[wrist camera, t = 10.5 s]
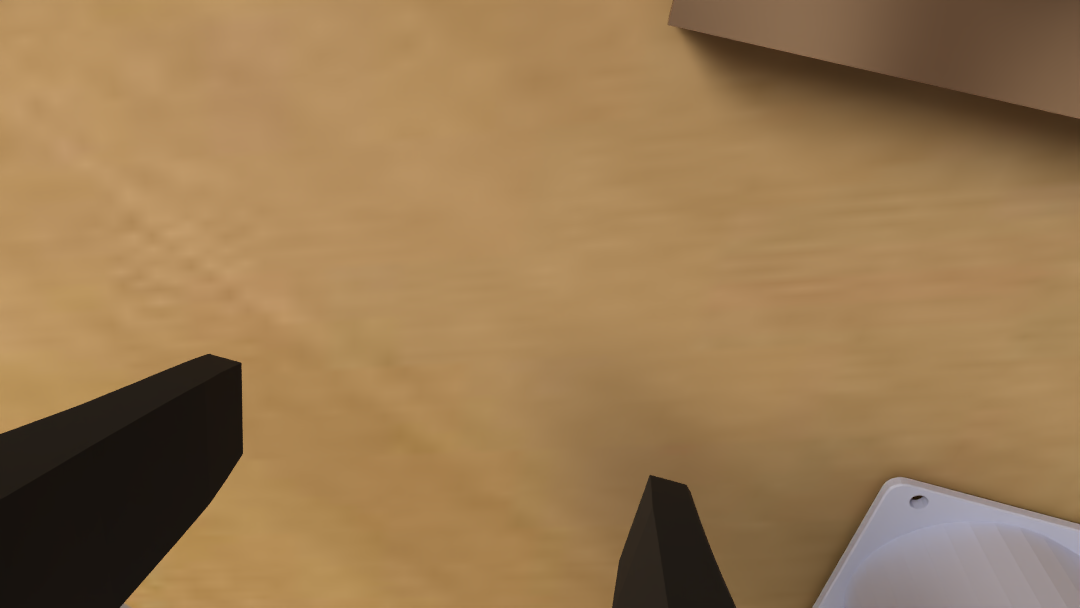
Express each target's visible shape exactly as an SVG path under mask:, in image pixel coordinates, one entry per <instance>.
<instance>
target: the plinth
mask: <svg viewBox="0 0 1080 608" xmlns="http://www.w3.org/2000/svg"><path fill="white" fill-rule="evenodd" d="M668 25H671V26H675V27H679V28H684V29H688V30H692V31H697V32H701V33H706V34H710V35H714V36H719V37H723V38H728V39H732V40H736V41H741V42H745V43H750V44H754V45H758V46H763V47H767V48H771V49H776V50H780V51H785V52H789V53H793V54H798V55H802V56H807V57H811V58H815V59H820V60H824V61H828V62H833V63H837V64H842V65H846V66H850V67H855V68H859V69H864V70H868V71H872V72H877V73H881V74H885V75H890V76H894V77H899V78H903V79H907V80H912V81H916V82H921V83H925V84H929V85H934V86H938V87H942V88H947V89H951V90H956V91H960V92H964V93H969V94H973V95H978V96H982V97H986V98H991V99H995V100H999V101H1004V102H1008V103H1013V104H1017V105H1021V106H1026V107H1030V108H1035V109H1039V110H1043V111H1048V112H1052V113H1057V114H1061V115H1065V116H1070V117H1074V118H1078V119H1080V0H673V3H672V7H671V11H670V15H669V20H668Z"/></svg>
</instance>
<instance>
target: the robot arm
mask: <svg viewBox="0 0 1080 608" xmlns="http://www.w3.org/2000/svg"><path fill="white" fill-rule="evenodd" d="M242 454H243V429H242V370H241V363H240V362H237V361H233V360H229V359H226V358H222V357H218V356H215V355H211V354H207V355H204V356H201V357H198V358H195V359H193V360H190V361H187V362H185V363H182V364H180V365H177V366H175V367H172V368H170V369H167V370H165V371H162V372H160V373H158V374H155V375H153V376H150V377H148V378H145V379H143V380H141V381H138V382H136V383H133V384H131V385H128V386H126V387H123V388H121V389H119V390H116V391H114V392H111V393H109V394H106V395H104V396H101V397H99V398H96V399H94V400H91V401H89V402H86V403H84V404H81V405H79V406H76V407H73V408H71V409H68V410H65V411H63V412H60V413H57V414H54V415H52V416H49V417H46V418H43V419H41V420H38V421H35V422H32V423H30V424H27V425H24V426H22V427H19V428H16V429H13V430H11V431H8V432H5V433H2V434H0V608H120V606H122V604H123V603H124V602H125V601H126V600H127V599H128V598H129V596H130V595H131V594H132V593H133V592H134V591H135V590H136V588H137V587H138V586H139V585H140V584H141V583H142V581H143V580H144V579H145V578H146V577H147V576H148V575H149V573H150V572H151V571H152V570H153V569H154V568H155V567H156V565H157V564H158V563H159V562H160V561H161V560H162V559H163V557H164V556H165V555H166V554H167V553H168V552H169V551H170V549H171V548H172V547H173V546H174V545H175V544H176V543H177V541H178V540H179V539H180V538H181V537H182V536H183V534H184V533H185V532H186V531H187V530H188V529H189V527H190V526H191V525H192V524H193V523H194V522H195V520H196V519H197V518H198V517H199V516H200V515H201V513H202V512H203V511H204V510H205V509H206V507H207V506H208V505H209V504H210V503H211V501H212V500H213V498H214V497H215V495H216V494H217V492H218V491H219V490H220V488H221V487H222V485H223V484H224V482H225V481H226V479H227V478H228V476H229V475H230V473H231V471H232V470H233V468H234V467H235V465H236V464H237V462H238V461H239V459H240V457H241V456H242ZM917 495H921V496H923V497H922V498H920V499H917V500H911V498H912V497H914V496H917ZM612 608H736V606H735V604H734V602H733V599H732V597H731V595H730V593H729V590H728V588H727V586H726V583H725V581H724V579H723V577H722V574H721V572H720V570H719V567H718V565H717V563H716V560H715V558H714V555H713V553H712V550H711V548H710V545H709V543H708V540H707V537H706V535H705V532H704V529H703V527H702V524H701V521H700V518H699V516H698V513H697V510H696V507H695V504H694V501H693V498H692V495H691V492H690V490H689V489H688V487H687V485H685V484H681V483H678V482H674V481H670V480H667V479H663V478H659V477H656V476H652V475H650V476H649V479H648V482H647V485H646V487H645V490H644V493H643V496H642V499H641V501H640V504H639V507H638V510H637V513H636V515H635V518H634V521H633V524H632V527H631V529H630V532H629V535H628V538H627V541H626V543H625V546H624V549H623V552H622V555H621V557H620V560H619V566H618V573H617V579H616V586H615V592H614V599H613V606H612ZM812 608H1080V524H1077V523H1073V522H1070V521H1066V520H1062V519H1058V518H1055V517H1051V516H1047V515H1044V514H1040V513H1036V512H1032V511H1029V510H1025V509H1021V508H1017V507H1014V506H1010V505H1006V504H1002V503H999V502H995V501H991V500H987V499H984V498H980V497H976V496H973V495H969V494H965V493H961V492H958V491H954V490H950V489H946V488H943V487H939V486H935V485H931V484H928V483H924V482H920V481H917V480H913V479H909V478H904V477H896V478H892V479H890V480H888V481H886V482H885V484H884V485H883V486H882V488H881V489H880V491H879V493H878V495H877V496H876V498H875V500H874V501H873V503H872V505H871V507H870V508H869V510H868V512H867V514H866V515H865V517H864V519H863V521H862V522H861V524H860V526H859V527H858V529H857V531H856V533H855V534H854V536H853V538H852V540H851V541H850V543H849V545H848V547H847V548H846V550H845V552H844V553H843V555H842V557H841V559H840V560H839V562H838V564H837V566H836V567H835V569H834V571H833V573H832V574H831V576H830V578H829V579H828V581H827V583H826V585H825V586H824V588H823V590H822V592H821V593H820V595H819V597H818V599H817V600H816V602H815V604H814V605H813V607H812Z"/></svg>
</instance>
